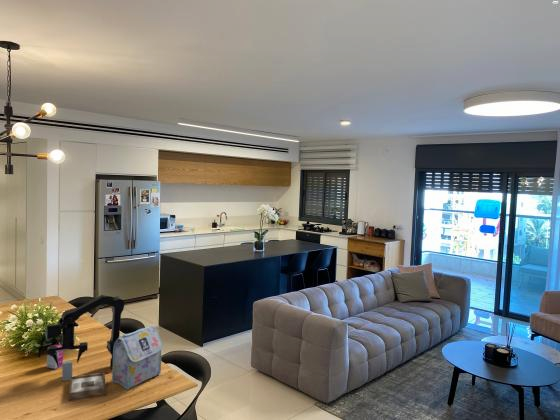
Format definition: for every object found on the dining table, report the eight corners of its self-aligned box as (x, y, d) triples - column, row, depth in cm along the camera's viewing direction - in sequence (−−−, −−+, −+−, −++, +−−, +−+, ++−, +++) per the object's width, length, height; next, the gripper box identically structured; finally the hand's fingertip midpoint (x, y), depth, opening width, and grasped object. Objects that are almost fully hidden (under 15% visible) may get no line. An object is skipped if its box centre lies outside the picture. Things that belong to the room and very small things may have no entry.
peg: (72, 375, 220) (72, 360, 220) (71, 379, 216) (72, 364, 215) (62, 376, 218) (63, 362, 218) (62, 380, 214) (62, 365, 214)
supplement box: (55, 369, 225) (56, 349, 225) (46, 368, 226) (46, 348, 226) (63, 365, 231) (63, 345, 230) (54, 364, 232) (54, 344, 231)
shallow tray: (104, 378, 218) (104, 372, 218) (105, 395, 202) (105, 388, 202) (70, 383, 212) (70, 376, 211) (68, 400, 195) (68, 393, 195)
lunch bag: (129, 392, 205) (131, 341, 204) (108, 382, 214) (110, 333, 213) (164, 376, 224) (166, 328, 223) (144, 367, 233) (145, 321, 232)
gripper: (88, 328, 227) (87, 355, 228) (49, 331, 219) (49, 360, 220) (87, 335, 217) (87, 364, 218) (47, 339, 209) (46, 369, 210)
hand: (67, 364), depth 217 cm, fingers open, 9 cm apart
